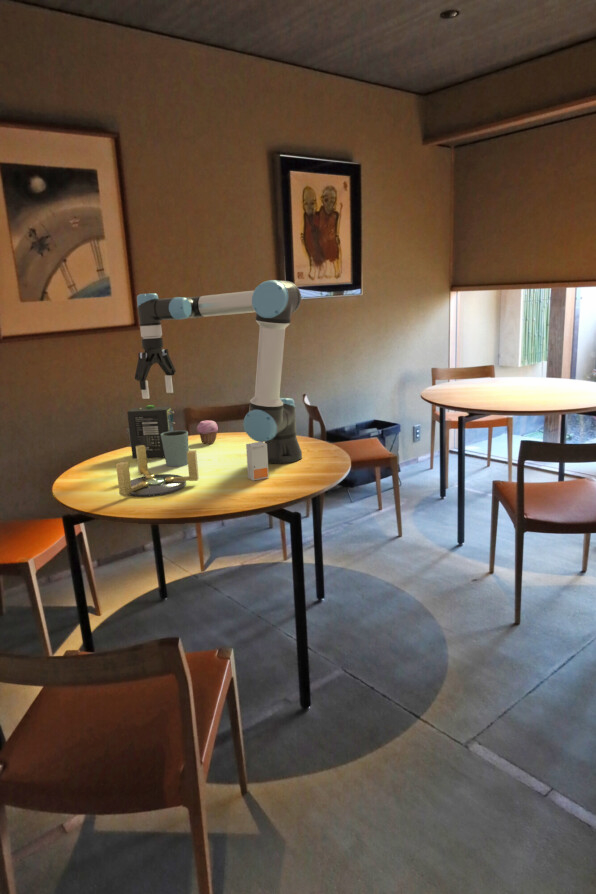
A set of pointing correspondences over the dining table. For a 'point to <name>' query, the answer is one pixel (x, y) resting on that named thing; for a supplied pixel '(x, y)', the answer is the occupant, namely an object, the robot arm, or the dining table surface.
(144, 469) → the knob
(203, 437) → the cupcake
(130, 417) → the router
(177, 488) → the levelling plate
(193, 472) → the tan l-shaped bracket
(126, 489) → the ball-tipped golden bracket
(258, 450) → the skincare box
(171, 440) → the grey cup
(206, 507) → the dining table surface
